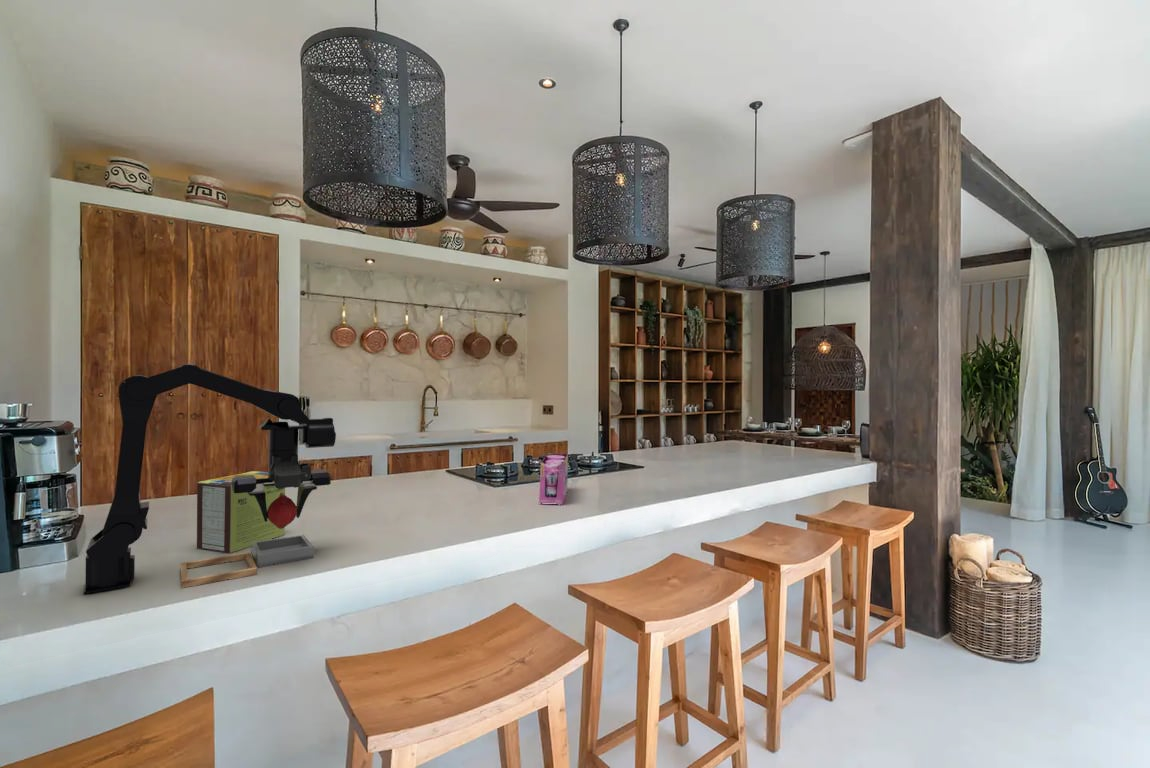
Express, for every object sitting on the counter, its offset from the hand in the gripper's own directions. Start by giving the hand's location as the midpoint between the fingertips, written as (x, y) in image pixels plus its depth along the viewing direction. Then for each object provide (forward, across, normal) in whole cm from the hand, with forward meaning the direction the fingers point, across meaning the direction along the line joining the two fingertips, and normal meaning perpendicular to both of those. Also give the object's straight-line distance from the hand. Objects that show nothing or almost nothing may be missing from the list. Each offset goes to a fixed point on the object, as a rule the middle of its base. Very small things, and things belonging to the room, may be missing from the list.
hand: (282, 519), depth 117 cm
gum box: (+8, +85, +14) cm, 86 cm away
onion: (+2, 0, 0) cm, 2 cm away
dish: (+8, 0, 0) cm, 8 cm away
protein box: (+8, -6, +16) cm, 19 cm away
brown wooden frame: (+8, -12, -4) cm, 15 cm away
